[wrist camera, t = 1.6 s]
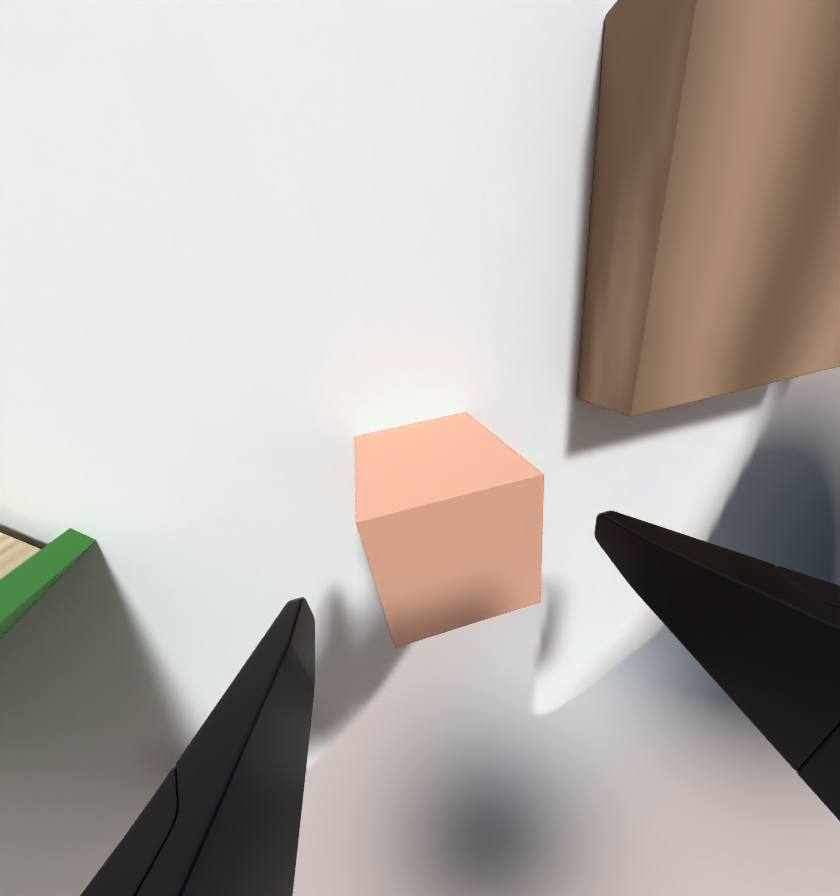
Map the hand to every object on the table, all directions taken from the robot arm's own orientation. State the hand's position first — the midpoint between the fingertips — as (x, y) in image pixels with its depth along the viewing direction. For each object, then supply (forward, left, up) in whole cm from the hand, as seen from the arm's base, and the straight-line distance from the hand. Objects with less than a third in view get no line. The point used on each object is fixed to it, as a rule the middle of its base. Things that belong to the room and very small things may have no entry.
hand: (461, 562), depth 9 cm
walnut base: (-14, -8, -6) cm, 17 cm away
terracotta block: (0, 0, -6) cm, 6 cm away
